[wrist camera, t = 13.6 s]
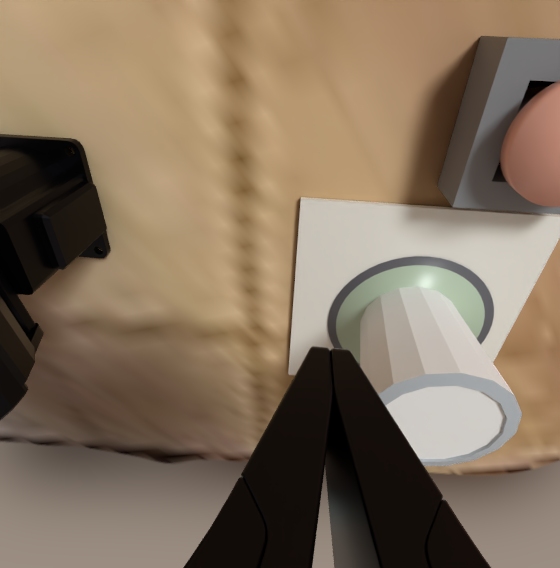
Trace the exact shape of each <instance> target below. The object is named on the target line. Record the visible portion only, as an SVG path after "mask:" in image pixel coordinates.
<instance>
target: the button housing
mask: <svg viewBox="0 0 560 568" xmlns="http://www.w3.org/2000/svg"><path fill="white" fill-rule="evenodd" d="M530 80H534V81H554V82H557V81H559V80H560V39H538V38H515V37H492V36H481V37H480V41H479V44H478V48H477V51H476V55H475V58H474V61H473V65H472V68H471V72H470V75H469V79H468V82H467V86H466V89H465V92H464V96H463V99H462V103H461V106H460V110H459V113H458V116H457V120H456V123H455V127H454V130H453V134H452V137H451V141H450V144H449V147H448V151H447V154H446V158H445V161H444V165H443V168H442V171H441V175H440V178H439V182H438V185H437V187H438V188H439V190H440V191H441V192H442V194H443V195H444V196H445V198H446V199H447V200H448V202H449V203H450V204H451V206H452V207H458V208H473V209H487V210H502V211H517V212H532V213H547V214H560V207H547V206H541V205H537V204H534V203H532V202H530V201H528V200H527V199H525V198H524V197H522V196H521V195H520V194H519V193H518V192H516V191H515V190H514V189H513V188H512V187H511V186H510V185H509V184H508V183H507V181H506V180H505V178H504V176H503V173H502V169H501V165H498V164H499V161H500V155H501V148H502V144H503V140H504V137H505V135H506V133H507V130H508V128H509V127H510V125H511V123H512V121H513V120H514V118H515V117H516V116H517V113H518V111H519V108H520V105H521V103H522V100H523V97H524V95H525V92H526V89H527V87H528V84H529V81H530Z"/></svg>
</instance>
